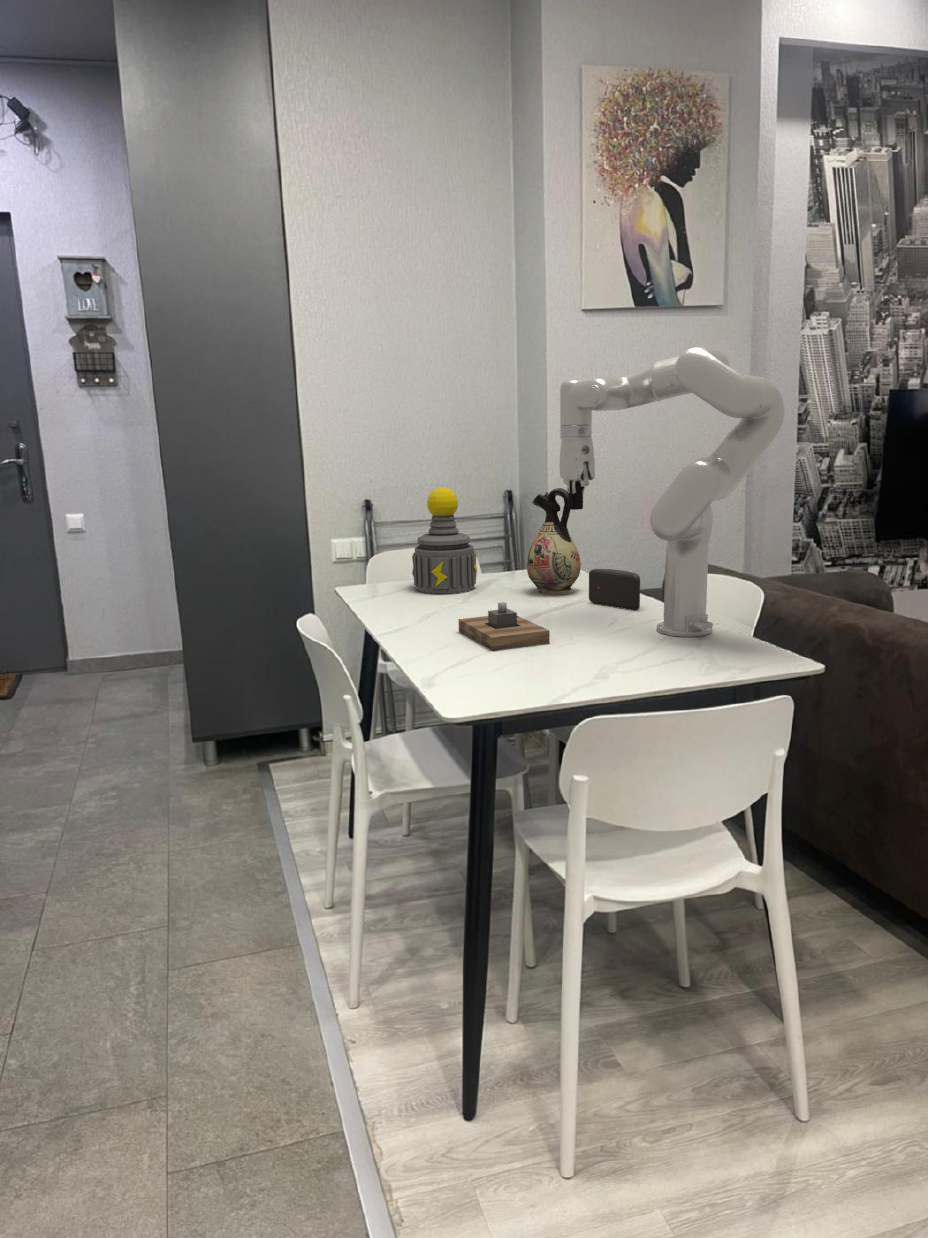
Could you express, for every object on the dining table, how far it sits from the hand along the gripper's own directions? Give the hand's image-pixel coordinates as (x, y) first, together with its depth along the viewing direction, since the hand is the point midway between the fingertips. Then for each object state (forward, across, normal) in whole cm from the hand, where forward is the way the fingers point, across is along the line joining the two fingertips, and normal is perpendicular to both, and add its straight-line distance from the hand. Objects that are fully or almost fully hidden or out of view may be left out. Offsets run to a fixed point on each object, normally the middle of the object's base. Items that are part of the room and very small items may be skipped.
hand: (575, 509), depth 219 cm
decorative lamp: (+27, +51, +16) cm, 60 cm away
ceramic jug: (+27, +30, -10) cm, 42 cm away
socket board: (+27, -11, +25) cm, 38 cm away
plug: (+26, -11, +25) cm, 38 cm away
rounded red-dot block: (+27, +6, -15) cm, 32 cm away
